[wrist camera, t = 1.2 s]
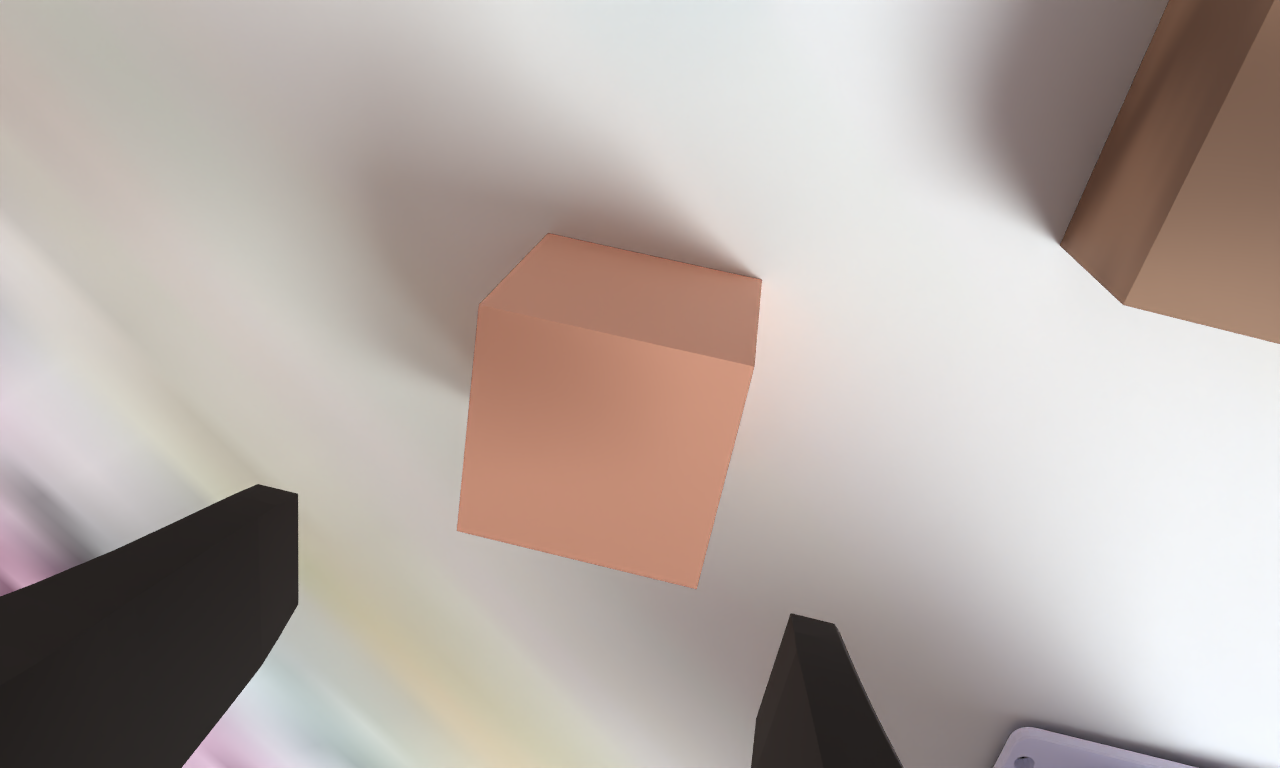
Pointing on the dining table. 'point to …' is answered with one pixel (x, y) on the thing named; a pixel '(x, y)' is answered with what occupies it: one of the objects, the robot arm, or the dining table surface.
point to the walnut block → (1194, 174)
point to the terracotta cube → (607, 406)
